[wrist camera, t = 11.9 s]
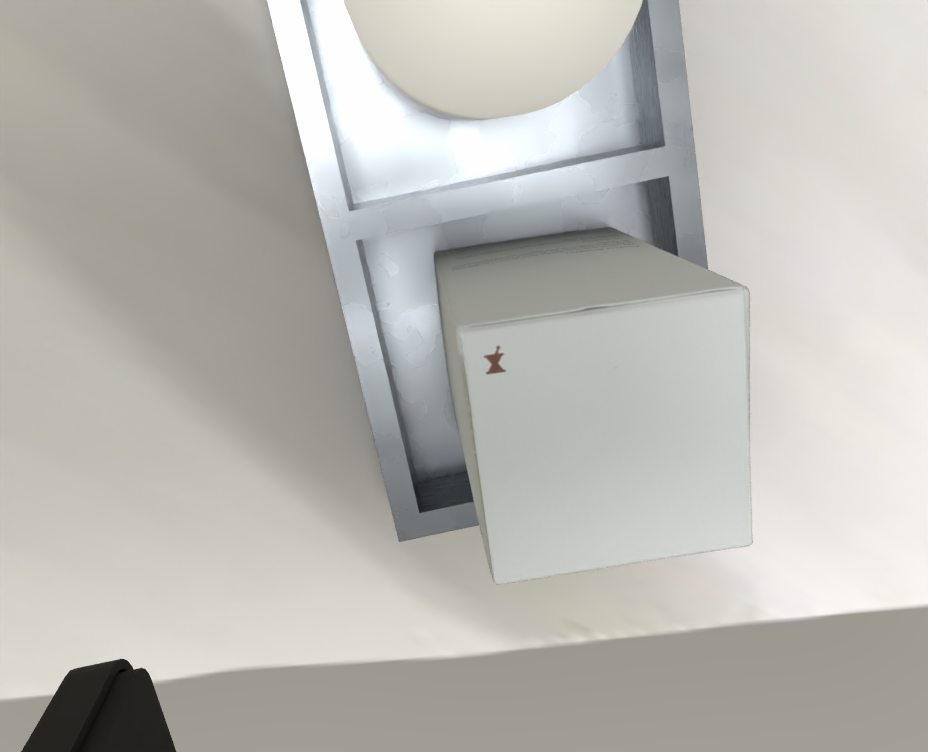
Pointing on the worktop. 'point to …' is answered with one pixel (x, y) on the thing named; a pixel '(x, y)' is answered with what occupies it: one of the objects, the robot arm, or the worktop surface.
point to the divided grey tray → (470, 212)
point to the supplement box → (597, 401)
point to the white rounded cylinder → (489, 50)
